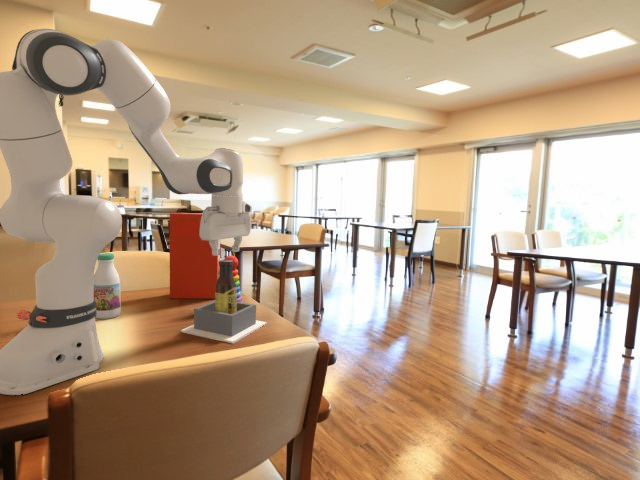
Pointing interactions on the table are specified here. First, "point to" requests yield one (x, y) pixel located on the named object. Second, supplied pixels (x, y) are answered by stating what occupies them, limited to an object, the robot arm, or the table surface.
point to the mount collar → (224, 322)
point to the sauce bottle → (226, 289)
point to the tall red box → (191, 259)
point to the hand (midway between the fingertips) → (226, 253)
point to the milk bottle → (107, 288)
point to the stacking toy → (235, 275)
